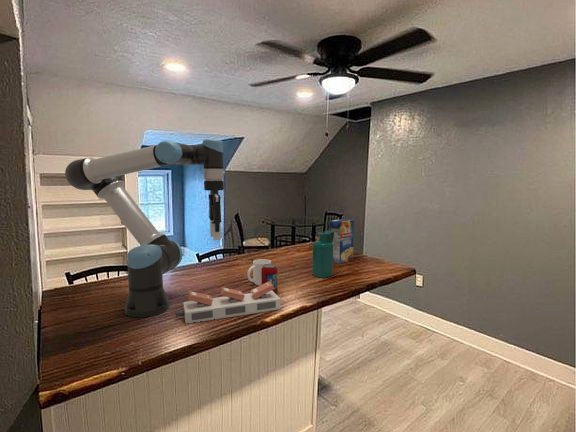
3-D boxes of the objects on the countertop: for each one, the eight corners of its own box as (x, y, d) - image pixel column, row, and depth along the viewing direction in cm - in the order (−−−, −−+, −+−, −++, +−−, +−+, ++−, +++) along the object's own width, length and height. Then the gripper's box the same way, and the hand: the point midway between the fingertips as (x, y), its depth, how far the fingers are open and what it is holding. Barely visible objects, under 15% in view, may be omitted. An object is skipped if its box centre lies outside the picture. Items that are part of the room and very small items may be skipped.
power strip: (176, 325, 108) (175, 310, 107) (175, 313, 117) (174, 299, 117) (280, 309, 121) (280, 295, 121) (272, 299, 131) (272, 287, 130)
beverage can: (271, 296, 134) (271, 268, 133) (258, 293, 138) (258, 266, 136) (280, 291, 140) (280, 264, 138) (267, 288, 143) (267, 262, 142)
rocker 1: (188, 300, 111) (190, 294, 111) (187, 295, 116) (189, 290, 116) (211, 304, 114) (212, 299, 114) (209, 300, 119) (211, 295, 119)
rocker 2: (222, 295, 116) (224, 290, 116) (220, 291, 120) (221, 286, 120) (243, 300, 119) (244, 295, 119) (240, 296, 123) (241, 291, 123)
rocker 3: (255, 298, 120) (253, 294, 120) (252, 294, 124) (250, 290, 124) (274, 289, 123) (272, 284, 122) (270, 285, 127) (269, 280, 126)
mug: (252, 288, 143) (251, 266, 142) (243, 283, 150) (242, 262, 149) (274, 283, 151) (274, 261, 149) (264, 279, 157) (264, 258, 156)
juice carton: (343, 257, 197) (344, 218, 194) (353, 260, 192) (353, 220, 189) (329, 261, 190) (330, 220, 187) (339, 263, 184) (340, 222, 181)
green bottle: (322, 279, 157) (323, 234, 154) (310, 275, 163) (310, 232, 161) (336, 274, 163) (336, 231, 161) (323, 271, 170) (324, 229, 167)
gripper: (228, 180, 118) (229, 242, 121) (219, 179, 136) (220, 233, 139) (207, 180, 115) (209, 243, 118) (201, 179, 134) (202, 234, 137)
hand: (215, 238), depth 129 cm, fingers open, 7 cm apart
